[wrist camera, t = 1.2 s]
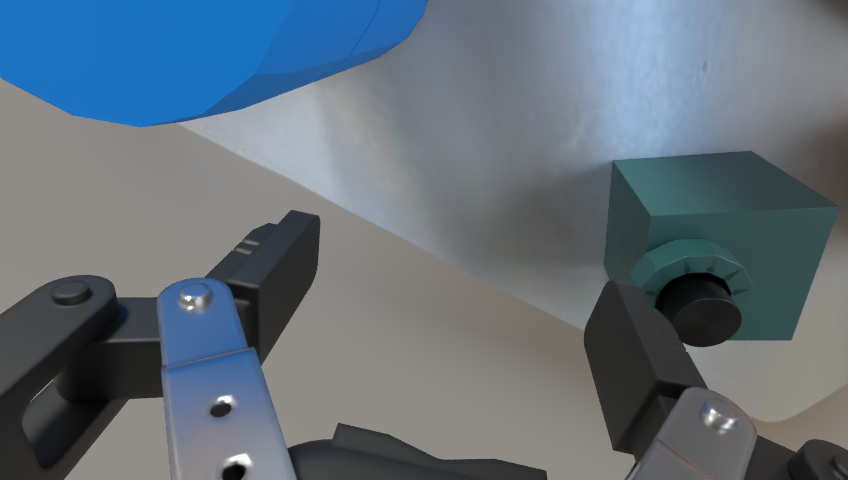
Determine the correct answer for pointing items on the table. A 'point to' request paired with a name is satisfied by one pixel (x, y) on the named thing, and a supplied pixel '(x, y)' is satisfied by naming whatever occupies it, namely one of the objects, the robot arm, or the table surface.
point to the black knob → (700, 310)
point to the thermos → (187, 51)
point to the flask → (719, 233)
